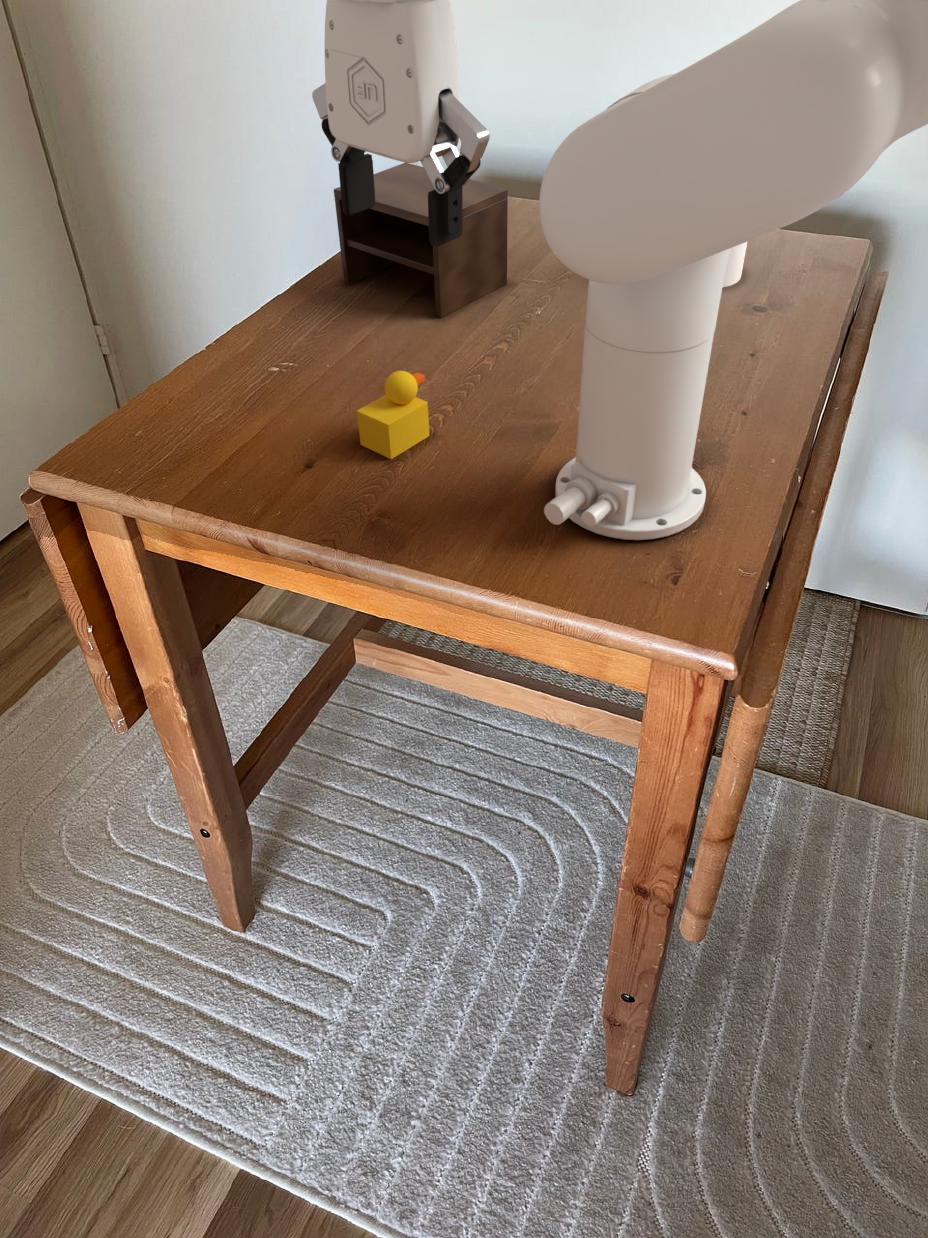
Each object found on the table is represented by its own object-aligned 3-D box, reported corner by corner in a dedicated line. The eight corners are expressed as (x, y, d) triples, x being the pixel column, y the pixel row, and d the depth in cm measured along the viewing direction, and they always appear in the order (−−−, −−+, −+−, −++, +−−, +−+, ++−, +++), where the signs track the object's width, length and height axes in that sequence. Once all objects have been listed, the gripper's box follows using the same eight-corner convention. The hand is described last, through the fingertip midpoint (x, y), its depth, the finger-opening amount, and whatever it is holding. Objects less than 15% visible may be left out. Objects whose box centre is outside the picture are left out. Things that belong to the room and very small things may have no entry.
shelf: (441, 318, 106) (436, 219, 98) (343, 282, 114) (333, 188, 106) (507, 283, 112) (507, 188, 105) (411, 252, 120) (405, 161, 113)
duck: (391, 459, 85) (385, 396, 80) (360, 444, 87) (353, 382, 82) (439, 429, 88) (436, 367, 84) (409, 416, 90) (404, 355, 86)
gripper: (262, -40, 65) (294, 212, 77) (445, -9, 56) (449, 268, 68) (342, -54, 69) (360, 188, 81) (523, -27, 61) (514, 238, 72)
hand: (401, 224), depth 74 cm, fingers open, 9 cm apart
